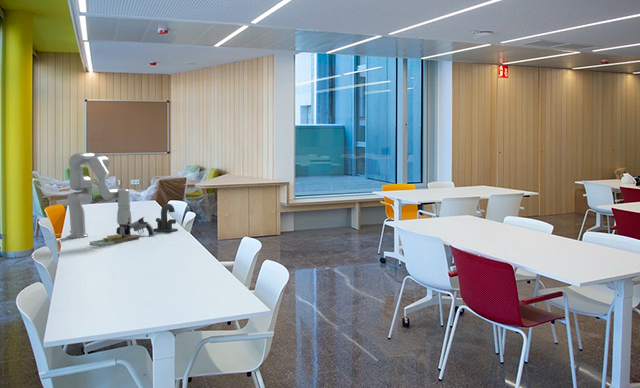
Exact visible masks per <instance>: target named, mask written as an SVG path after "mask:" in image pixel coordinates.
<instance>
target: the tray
mask: <svg viewBox="0 0 640 388" xmlns="http://www.w3.org/2000/svg"><path fill="white" fill-rule="evenodd" d="M113 244H116V243H115V241H110V242H105V239H103V238H102V239H96V240H93V241H92V240H91V241H89V245H92V246H98V247H102V246H107V245H113Z"/></svg>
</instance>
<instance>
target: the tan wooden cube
mask: <svg viewBox="0 0 640 388" xmlns="http://www.w3.org/2000/svg"><path fill="white" fill-rule="evenodd" d="M115 235H116V234H113V235H107V236H106V238H108V242H110V241H112V240H113V239H117V238H116V236H115Z"/></svg>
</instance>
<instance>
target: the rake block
mask: <svg viewBox="0 0 640 388" xmlns="http://www.w3.org/2000/svg"><path fill="white" fill-rule="evenodd" d="M127 224H128V223H127ZM127 226H128V225H127ZM119 227H120V235H122V238H124V237H130V236H131V235H132V234H131V233H130V234H129V235H125V229H126V227H125V225H123V224H120V226H119Z"/></svg>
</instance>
